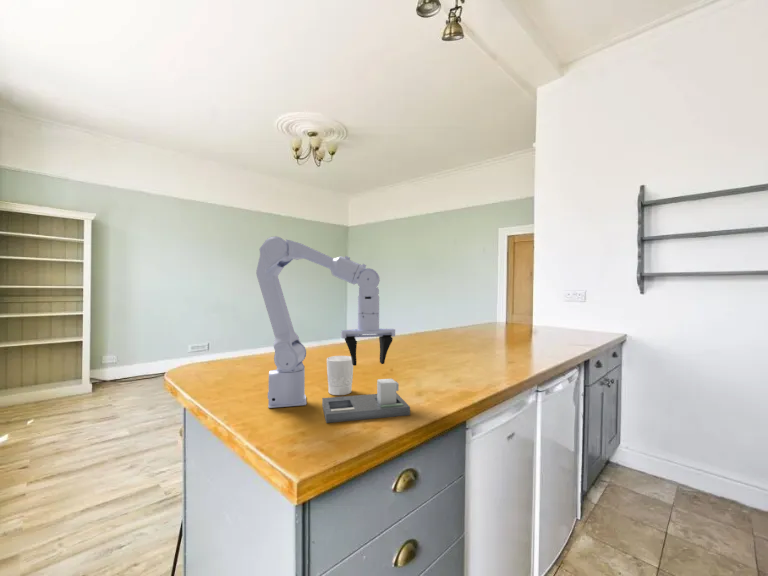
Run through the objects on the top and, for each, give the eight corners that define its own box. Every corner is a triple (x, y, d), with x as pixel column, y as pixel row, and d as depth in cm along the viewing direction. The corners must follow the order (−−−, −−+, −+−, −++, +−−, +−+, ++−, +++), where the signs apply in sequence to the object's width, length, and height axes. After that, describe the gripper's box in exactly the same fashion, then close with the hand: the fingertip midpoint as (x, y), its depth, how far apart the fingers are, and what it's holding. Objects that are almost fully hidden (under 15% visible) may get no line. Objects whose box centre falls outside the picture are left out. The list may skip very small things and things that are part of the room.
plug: (380, 411, 86) (380, 383, 86) (377, 406, 90) (377, 379, 90) (399, 410, 87) (399, 382, 87) (395, 405, 91) (395, 378, 91)
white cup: (327, 388, 106) (327, 355, 106) (353, 387, 107) (353, 355, 107) (325, 396, 98) (325, 361, 99) (353, 395, 99) (353, 360, 99)
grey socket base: (326, 423, 79) (326, 413, 79) (322, 405, 91) (322, 397, 91) (409, 415, 84) (409, 405, 84) (396, 399, 96) (396, 391, 96)
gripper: (344, 314, 87) (344, 368, 87) (399, 313, 91) (398, 365, 91) (339, 312, 94) (339, 363, 94) (390, 312, 98) (390, 360, 98)
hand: (368, 364), depth 93 cm, fingers open, 7 cm apart
